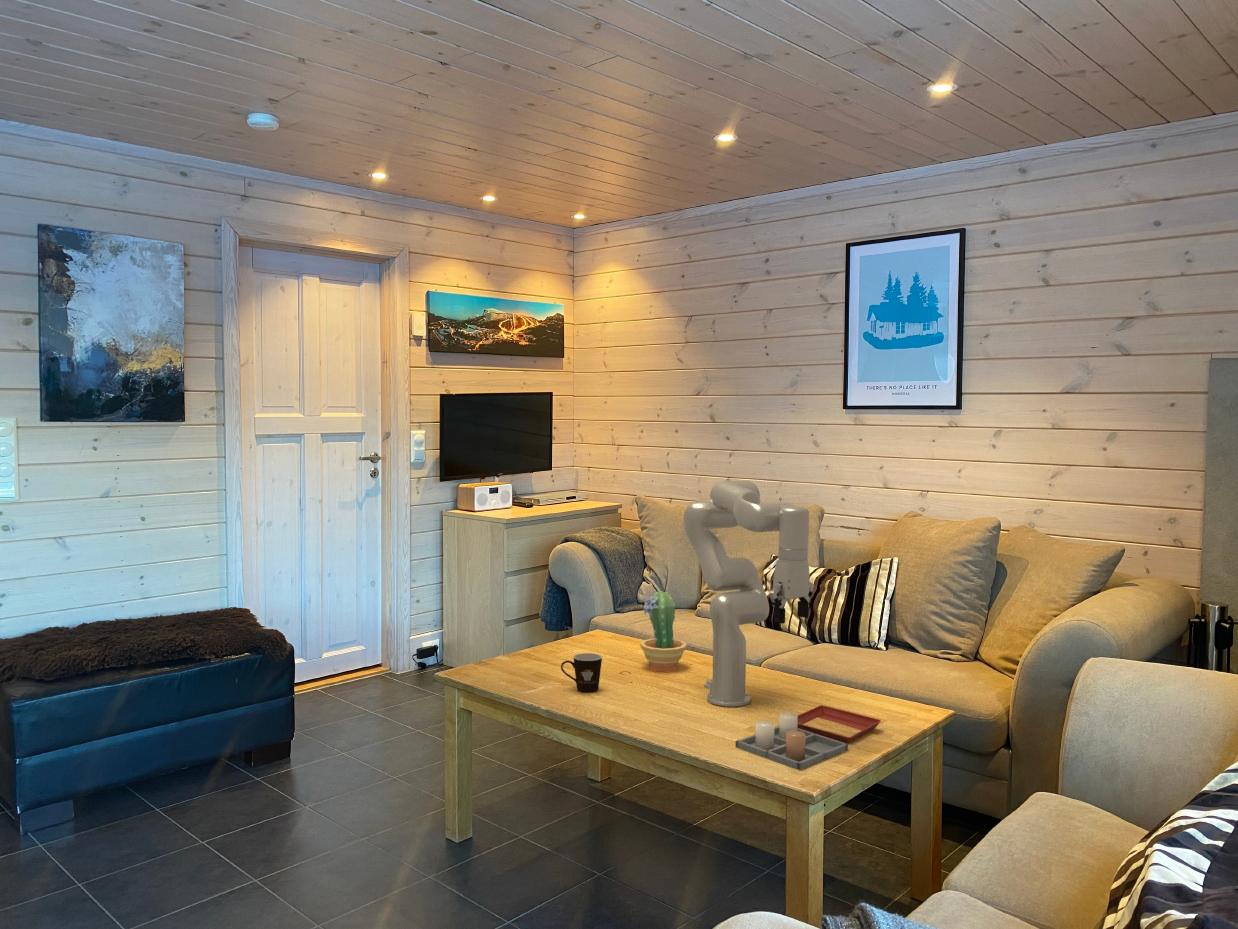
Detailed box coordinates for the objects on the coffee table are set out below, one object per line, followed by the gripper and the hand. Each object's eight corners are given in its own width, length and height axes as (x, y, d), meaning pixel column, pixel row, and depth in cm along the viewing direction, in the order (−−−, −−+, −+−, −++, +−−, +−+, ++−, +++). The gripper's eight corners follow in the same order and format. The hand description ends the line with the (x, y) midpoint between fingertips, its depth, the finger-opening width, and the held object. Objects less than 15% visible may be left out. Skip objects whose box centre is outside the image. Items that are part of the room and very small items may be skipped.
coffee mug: (606, 687, 277) (606, 655, 276) (594, 695, 269) (594, 662, 268) (572, 682, 282) (572, 650, 281) (559, 690, 274) (559, 657, 273)
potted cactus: (640, 661, 307) (640, 587, 306) (686, 661, 307) (687, 588, 305) (639, 674, 292) (640, 596, 291) (687, 674, 291) (688, 597, 290)
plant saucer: (882, 731, 241) (882, 719, 241) (849, 750, 228) (849, 736, 228) (820, 716, 253) (821, 704, 253) (786, 732, 240) (786, 720, 240)
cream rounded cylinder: (775, 738, 232) (775, 715, 231) (786, 734, 235) (786, 711, 235) (789, 743, 228) (790, 720, 228) (800, 739, 231) (801, 716, 231)
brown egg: (781, 758, 219) (782, 733, 218) (793, 753, 222) (793, 729, 221) (797, 763, 215) (797, 738, 215) (809, 759, 218) (809, 734, 218)
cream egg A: (751, 747, 226) (751, 723, 225) (763, 743, 229) (763, 719, 228) (766, 752, 222) (766, 728, 222) (777, 748, 225) (778, 724, 225)
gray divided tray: (735, 750, 226) (735, 741, 226) (784, 732, 239) (784, 723, 239) (799, 773, 211) (799, 763, 211) (847, 753, 224) (847, 744, 224)
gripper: (802, 549, 245) (800, 612, 246) (760, 555, 233) (758, 622, 234) (825, 553, 239) (823, 617, 240) (783, 560, 228) (781, 627, 229)
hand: (791, 619), depth 237 cm, fingers open, 9 cm apart
